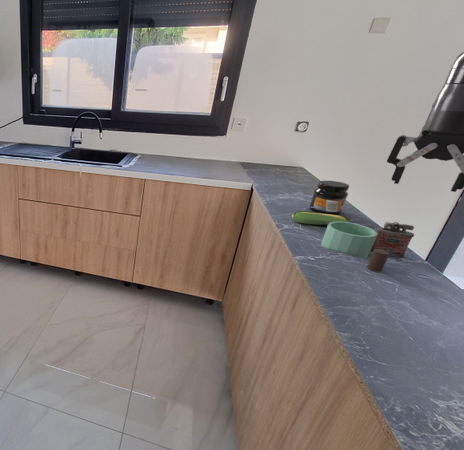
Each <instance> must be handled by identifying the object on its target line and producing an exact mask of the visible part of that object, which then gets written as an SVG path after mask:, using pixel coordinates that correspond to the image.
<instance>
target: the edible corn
mask: <svg viewBox="0 0 464 450" xmlns="http://www.w3.org/2000/svg"><path fill="white" fill-rule="evenodd" d="M291 218H293V220H294V221H295V222H297V223H299V224H302V225H304V224H305V225H315V226H316V225H318V226H328V224H329V223H330V222H349V223H351V222H350V221H351V220H352V219H351V218H350V217H346V216H342V215H331V214H324V213H317V212H313V211H308V210H298V211H295V213H293V214H292V215H291Z"/></svg>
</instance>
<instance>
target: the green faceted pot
mask: <svg viewBox="0 0 464 450" xmlns="http://www.w3.org/2000/svg"><path fill="white" fill-rule="evenodd" d="M349 222H350V221H349ZM349 222H330V223H329V224H328V225H326V228H325V231H324V235H323V238H322V240H321V243H320V246H321V248H325V249H327V250H331V251H336V252H339V253H343V254H346V255H350V256H354V257H358V258H361V259H367V258H368V257H369V254H370V253H371V251H370V250H371V248H372V246H373V243H374V241H375V239H376V236H377V234H378V233H377V232H376V231H377V230H376V229H373V228H371V227H368V226H366V225H362V224H359V223H354V222H350V223H349Z"/></svg>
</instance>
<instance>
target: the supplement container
mask: <svg viewBox="0 0 464 450" xmlns="http://www.w3.org/2000/svg"><path fill="white" fill-rule="evenodd" d="M349 188H350V185H349V184H348V183H346V182H343V181H336V180H320V181H318V184H317V187H316V188H315V189H314V192H313V195H312V198H311V201H310V204H309V210H310V211H311V212H317V213H324V214H331V215H337V216H339V215H340V214H341V213H342V211H343V208H344V206H345V203H346V200H347V197H348V196H349V193H348V191H349Z"/></svg>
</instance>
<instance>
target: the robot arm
mask: <svg viewBox="0 0 464 450" xmlns="http://www.w3.org/2000/svg"><path fill="white" fill-rule="evenodd" d="M445 78H446V79H445V81H444V83H443V85H442V87H441V89H440V90H439V92H438V94H437V95H436V97H435V100H434V101H433V103H432V105H431V109H430V112H429V113H428V115H427V118H426V120H425V122H424V125H423V127H422V130H421V131H420V134H419V135H418V136H416V137H415V136H407V135H405V134H401V135H400V136H398V137H397V139H396V141H395V144H393V147H392V148H391V151H390V153H389V155H388V157H387V159H386V162H387V163H388V164H391V165H394V166H395V169H394V172H393V174H392V176H391V181H392V182H393V184H397V185H399V183H400V181H401V179H402V177H403V174H404V172H405V169H406V166H407V165H408V164H410V163H412V162H413V161H415V160H417V159H419V158H421V157H422V158H423V159H426V160H440V161H444V162H448V161H452V160H453V161H454V162H455V163H456V166H457V167H458V168H459V169H460V171H459V172H458V175H457V176H456V178H455V180H454V182H453V184H452V187H451V188H450V192H452V193H457V191H458V190H463V189H464V51H463V52H461V53H459V54H458V55H457V56H456V58H455V59H454V61H453V62H452V65H451V67H450V70H449V71H448V74H447V76H446V77H445ZM411 143H413V144H414V146H415V148H416V150H414V151H413V152H412V153H410V154H409V155H407V156H405V157H404V158H398V155H399V154H400V152H401V149H402V148H404V147H408V145H409V144H411Z"/></svg>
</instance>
